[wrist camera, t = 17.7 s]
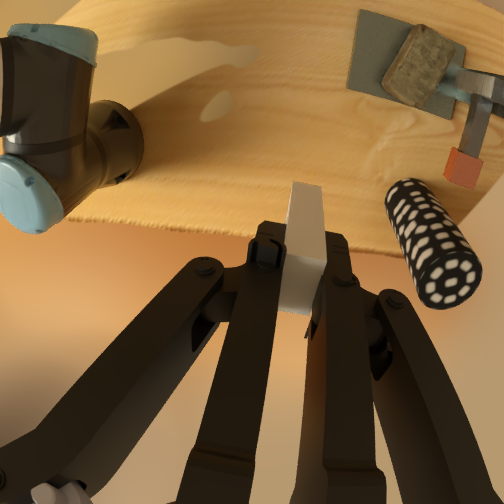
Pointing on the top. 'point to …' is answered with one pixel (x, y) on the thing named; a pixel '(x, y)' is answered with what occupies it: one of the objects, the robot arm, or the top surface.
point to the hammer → (473, 126)
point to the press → (383, 54)
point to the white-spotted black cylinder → (432, 246)
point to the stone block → (418, 66)
